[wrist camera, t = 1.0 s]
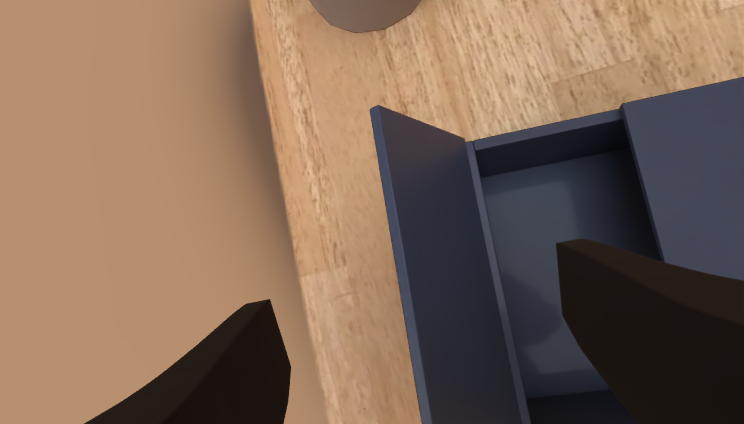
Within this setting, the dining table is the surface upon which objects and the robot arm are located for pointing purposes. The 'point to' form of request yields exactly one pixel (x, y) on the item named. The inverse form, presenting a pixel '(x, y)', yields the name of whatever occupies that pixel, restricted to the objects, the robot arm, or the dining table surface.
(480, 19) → the dining table surface
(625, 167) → the carton
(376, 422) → the dining table surface
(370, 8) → the cup
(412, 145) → the flap
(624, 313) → the robot arm
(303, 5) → the dining table surface
